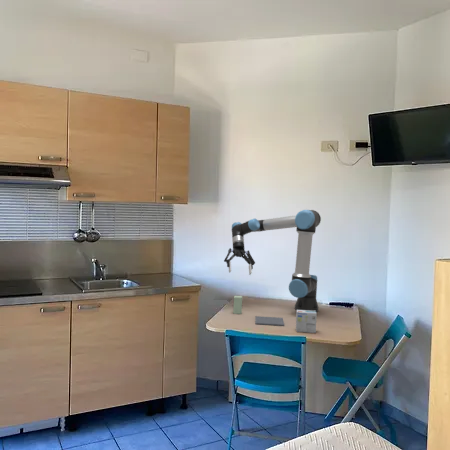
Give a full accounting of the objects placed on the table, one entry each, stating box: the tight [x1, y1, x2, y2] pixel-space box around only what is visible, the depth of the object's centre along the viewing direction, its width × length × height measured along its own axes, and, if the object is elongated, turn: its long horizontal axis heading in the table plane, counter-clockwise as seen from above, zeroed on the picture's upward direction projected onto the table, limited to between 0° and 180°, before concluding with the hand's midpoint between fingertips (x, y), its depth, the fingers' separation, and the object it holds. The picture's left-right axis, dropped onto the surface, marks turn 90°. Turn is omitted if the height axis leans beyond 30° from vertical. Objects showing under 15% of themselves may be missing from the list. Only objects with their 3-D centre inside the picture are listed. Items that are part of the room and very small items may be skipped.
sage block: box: [232, 295, 243, 315], centre depth 285 cm, size 5×5×10 cm
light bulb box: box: [295, 310, 318, 334], centre depth 250 cm, size 11×7×11 cm, turn 84°
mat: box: [254, 315, 285, 327], centre depth 267 cm, size 16×16×1 cm
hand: (240, 272), depth 293 cm, fingers open, 13 cm apart
